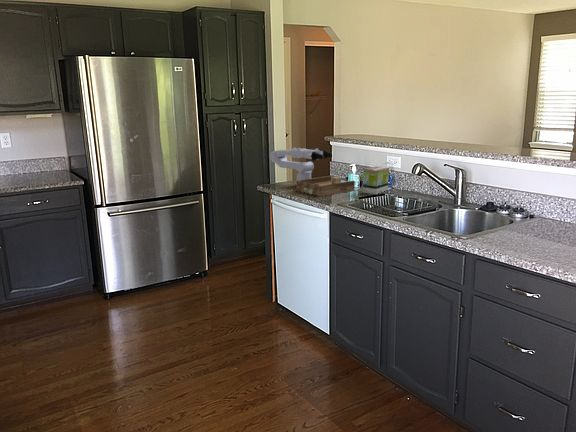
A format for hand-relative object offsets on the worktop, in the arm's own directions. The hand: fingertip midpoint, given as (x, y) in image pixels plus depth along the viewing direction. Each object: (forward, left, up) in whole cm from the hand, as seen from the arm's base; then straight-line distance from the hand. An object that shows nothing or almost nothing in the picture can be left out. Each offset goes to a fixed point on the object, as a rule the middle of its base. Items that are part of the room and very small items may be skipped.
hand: (327, 156), depth 309 cm
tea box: (+21, +21, -22) cm, 37 cm away
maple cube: (-1, +9, -18) cm, 21 cm away
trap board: (-1, 0, -21) cm, 21 cm away
